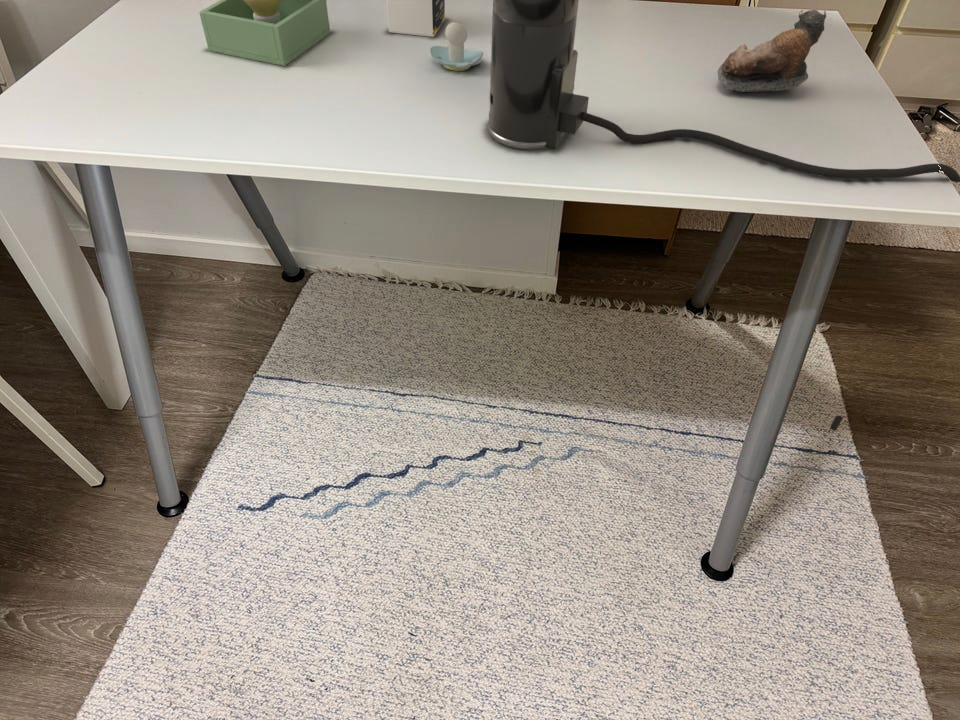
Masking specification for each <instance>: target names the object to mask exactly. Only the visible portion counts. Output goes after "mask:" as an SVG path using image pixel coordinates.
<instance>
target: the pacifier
mask: <svg viewBox="0 0 960 720" xmlns="http://www.w3.org/2000/svg"><path fill="white" fill-rule="evenodd" d="M444 32H445V33H444V35H445V38H446V40H447V42H448V47H446V46H442V45H434V46H431V47H430V48H429V54H430V56H431V58H432V59H433V61H435V62H437V63H438V64H439V65H442V66H443V67H444V68H445V69H447V70H451V71H456V72H459V71H460V72H461V71H466V70H469V69H470V68H471V67H473V66H477V65H479V64H481V63H482V62H483V59H482V57H483V55H484V51H483V50H481V49H480V50H478V49H465V43H466V41H467V40H468V31H467V29H466V27H465V26H464V25H463V24H461V23H460V22H457V21H455V22H454V21H453V22H450V23H448V24H447V26H446V27H445V31H444Z"/></svg>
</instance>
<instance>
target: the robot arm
mask: <svg viewBox="0 0 960 720" xmlns="http://www.w3.org/2000/svg"><path fill="white" fill-rule="evenodd" d="M579 2H580V0H492V19H491V50H490V54H491V55H490V81H489V83H490V84H489V85H490V86H489V110H488V122H487V131H488V134H489V135H490V137H491V138H492V139H493V140H494V141H496V142H497V143H500V144H501V145H503V146H507V147H509V148H514V149H520V150H540V149H550V150H555V149H556V148H557V147H558V145H560V142H562V140H563V139H564V137H565V134H568V135H569V134H570V135H576V134H577V132H578V130H579V128H580V127H581V126H582V124H583V122H586V123H588V124H591V125H595V126H598V127H600V128H603V129H605V130H607V131H609V132H610V133H613V135H615V137H617V138H618V139H620V140H621V141H623V142H626V143H630V144H649V143H654V142H655V143H656V142H661V141H664V140H670V139H671V140H672V139H683V138H684V139H692V140H693V139H694V140H699V141H705V142H708V143H711V144H715V145H717V146H721V147H723V148H725V149H728V150H730V151H734V152H737V153H739V154H742V155H745V156H748V157H751V158H755V159H758V160H762V161H764V162H767V163H770V164H774V165H777V166H780V167H784V168H786V169H789V170H793V171H797V172H801V173H805V174H808V175H815V176H819V177H827V178H832V179H833V178H834V179H835V178H836V179H850V180H851V179H853V180H855V179H856V180H857V179H899V178H906V177H907V178H908V177H912V176H913V177H914V176H918V175H924V174H931V173H932V174H935V173H934V172H938V173H937V174H942V175H944V174H945V175H944V176H946V177H947V179H949V180H950V182H954V183H960V174H959V172H958V171H957V170H956V169H954V168H953V167H952V166H949V165H948V164H945V163H926V164H920V165H914V166H909V167H901V168H865V169H864V168H863V169H856V168H855V169H849V168H848V169H847V168H834V167H827V166H819V165H814V164H810V163H805V162H801V161H798V160H795V159H791V158H788V157H784V156H781V155H778V154H776V153H772V152H769V151H766V150H763V149H759V148H755V147H752V146H749V145H746V144H743V143H740V142H737V141H734V140H732V139H729V138H726V137H724V136H721V135H718V134H714V133H711V132H707V131H703V130H702V131H701V130H697V129H689V128H688V129H687V128H677V129H668V130H663V131H659V132H653V133H648V134H633V133H628V132H626V131H625V130H624V129H623V128H621V126H619V125H618V124H616V123H615V122H613V121H610V120H609V119H605V118H603V117H600V116H597V115H594V114H591V113H588V108H589V107H588V106H589V101H590V100H589V98H590V97H589V96H586V95H581V94H576V93H574V89H575V81H576V80H575V79H576V72H577V63H578V55H579V53H578V51H577V50H576V49H574V46H575V38H576V37H575V36H576V29H577V18H578V9H579ZM938 165H939V166H940V167H941V169H940V167H939V166H938ZM939 170H940V171H943V172H944V174H943V173H940V172H939ZM843 419H844V416H841V415H835V417H834V419H833V421H832V422H831V424H830V426H829V428H830V430H832V431H836V430H838V428H839V426H840V424H841V422H842V421H843Z"/></svg>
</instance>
